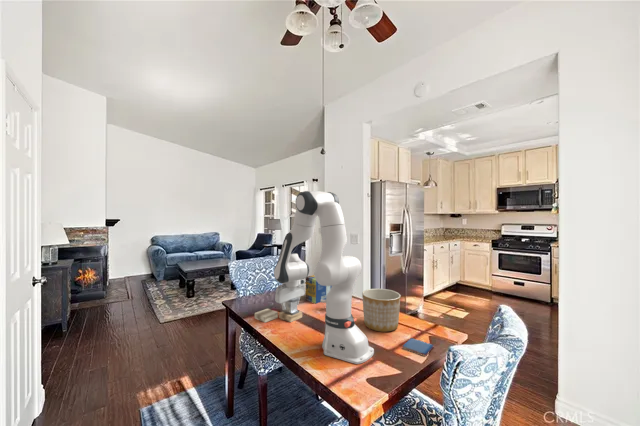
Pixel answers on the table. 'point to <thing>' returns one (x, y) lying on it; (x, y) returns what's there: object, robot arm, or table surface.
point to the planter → (381, 309)
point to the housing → (291, 306)
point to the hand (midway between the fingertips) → (290, 307)
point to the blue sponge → (417, 346)
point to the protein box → (315, 290)
